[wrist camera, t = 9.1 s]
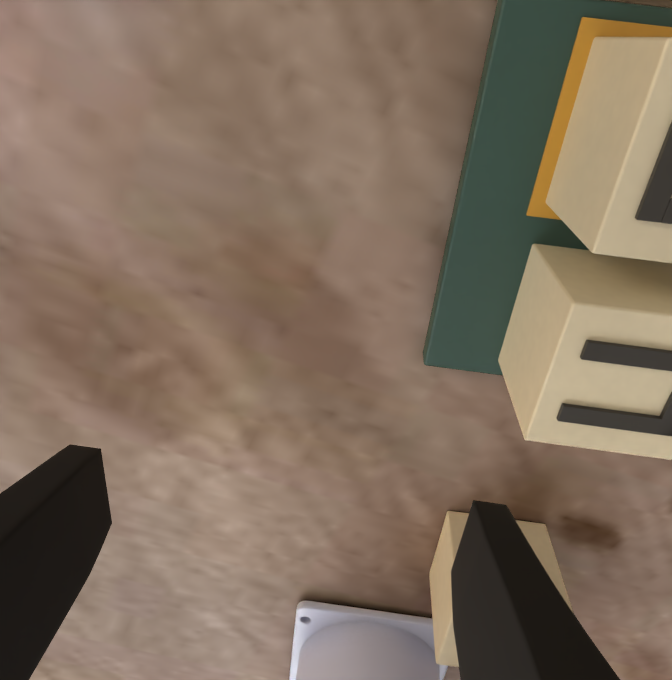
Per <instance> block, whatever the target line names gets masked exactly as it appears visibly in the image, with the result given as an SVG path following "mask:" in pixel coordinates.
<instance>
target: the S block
mask: <svg viewBox="0 0 672 680" xmlns="http://www.w3.org/2000/svg"><path fill="white" fill-rule="evenodd" d="M546 204H547V205H548V206H549V207H550V208H551V209H552V210H553V211H554V212H555V213H556V215H557V216H558V217H559V218H560V219H561V220H562V221H563V222H564V223H565V224H566V225H567V226H568V227H569V229H570V230H571V231H572V232H573V233H574V234H575V235H576V236H577V237H578V238H579V239H580V240H581V241H582V243H583V244H584V245H585V246H586V247H587V248H588V249H589V250H590V251H591V252H592V253H594V254H601V255H609V256H617V257H625V258H633V259H641V260H649V261H657V262H665V263H672V37H595V38H594V40H593V42H592V46H591V49H590V53H589V56H588V59H587V63H586V66H585V69H584V73H583V76H582V80H581V83H580V86H579V90H578V93H577V96H576V100H575V103H574V107H573V110H572V113H571V117H570V120H569V123H568V127H567V130H566V134H565V137H564V140H563V144H562V147H561V151H560V154H559V157H558V161H557V164H556V167H555V171H554V174H553V178H552V181H551V184H550V188H549V191H548V194H547V198H546Z"/></svg>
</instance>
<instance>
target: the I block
mask: <svg viewBox="0 0 672 680" xmlns="http://www.w3.org/2000/svg"><path fill="white" fill-rule="evenodd" d="M468 516H469V513H462V512H455V511H447V514H446V517H445V521H444V524H443V528H442V531H441V535H440V538H439V542H438V545H437V549H436V552H435V556H434V559H433V563H432V566H431V570H430V573H429V578H430V591H431V605H432V619H433V633H434V646H435V660H436V664H439V665H446V666H452V667H459V663H458V656H457V650H456V643H455V636H454V629H453V613H452V589H451V569H452V566H453V563H454V560H455V557H456V553H457V550H458V547H459V544H460V541H461V538H462V535H463V531H464V528H465V525H466V522H467V519H468ZM516 522H517V524H518V525H519V527H520V529H521V531H522V532H523V534H524V536H525V537H526V539H527V541H528V542H529V544H530V546H531V547H532V549H533V551H534V552H535V554H536V556H537V557H538V559H539V561H540V562H541V564H542V565H543V567H544V569H545V570H546V572H547V574H548V575H549V577H550V578H551V580H552V581H553V583H554V585H555V586H556V588H557V589H558V591H559V592H560V594H561V595H562V597H563V598H564V600H565V601H566V603H567V604H568V606H569V608H570V609H571V611H572V612H573V609H572V606H571V603H570V600H569V597H568V594H567V591H566V587H565V584H564V581H563V578H562V575H561V572H560V569H559V565H558V562H557V559H556V556H555V553H554V550H553V547H552V543H551V540H550V537H549V534H548V531H547V528H546V525H545V524H541V523H534V522H527V521H520V520H516ZM573 614H574V613H573Z"/></svg>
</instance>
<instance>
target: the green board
mask: <svg viewBox="0 0 672 680" xmlns="http://www.w3.org/2000/svg"><path fill="white" fill-rule="evenodd" d="M595 37H672V8H666V7H657V6H648V5H640V4H631V3H622V2H613V1H605V0H498V2H497V7H496V11H495V16H494V21H493V26H492V30H491V35H490V40H489V44H488V49H487V54H486V59H485V63H484V68H483V73H482V77H481V82H480V87H479V91H478V96H477V101H476V106H475V110H474V115H473V120H472V124H471V129H470V134H469V139H468V143H467V148H466V153H465V157H464V162H463V167H462V171H461V176H460V181H459V186H458V190H457V195H456V200H455V204H454V209H453V214H452V219H451V223H450V228H449V233H448V237H447V242H446V247H445V251H444V256H443V261H442V266H441V270H440V275H439V280H438V284H437V289H436V294H435V299H434V303H433V308H432V313H431V317H430V322H429V327H428V332H427V336H426V341H425V346H424V350H423V359H424V364H425V365H428V366H436V367H443V368H451V369H458V370H466V371H474V372H481V373H489V374H496V375H503V374H502V371H501V368H500V365H499V362H498V358H499V355H500V352H501V348H502V345H503V342H504V338H505V335H506V331H507V328H508V325H509V321H510V318H511V314H512V311H513V308H514V304H515V301H516V298H517V294H518V291H519V287H520V284H521V281H522V277H523V274H524V271H525V267H526V264H527V260H528V257H529V254H530V250H531V247H532V245H533V244H542V245H550V246H558V247H566V248H574V249H582V250H589V249H588V248H587V247H586V246H585V245H584V244H583V243H582V241H581V240H580V239H579V238H578V237H577V236H576V235H575V234H574V233H573V232H572V231H571V230H570V229H569V227H568V226H567V225H566V224H565V223H564V222H563V221H562V220H561V219H560V218H559V217H558V216H557V215H556V213H555V212H554V211H553V210H552V209H551V208H550V207H549V206H548V205H547V204H546V198H547V194H548V191H549V188H550V184H551V181H552V178H553V174H554V171H555V167H556V164H557V161H558V157H559V154H560V151H561V147H562V144H563V140H564V137H565V134H566V130H567V127H568V123H569V120H570V117H571V113H572V110H573V107H574V103H575V100H576V96H577V93H578V90H579V86H580V83H581V80H582V76H583V73H584V69H585V66H586V63H587V59H588V56H589V53H590V49H591V46H592V42H593V40H594V38H595Z"/></svg>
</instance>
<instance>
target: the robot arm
mask: <svg viewBox="0 0 672 680" xmlns="http://www.w3.org/2000/svg"><path fill="white" fill-rule="evenodd" d="M111 524H112V521H111V514H110V507H109V501H108V494H107V487H106V481H105V474H104V467H103V461H102V454H101V449H98V448H91V447H84V446H77V445H69V446H67V447H66V448H64V449H63V450H61V451H60V452H58V453H57V454H56V455H54V456H53V457H51V458H50V459H48V460H47V461H46V462H44V463H43V464H41V465H40V466H39V467H37V468H36V469H34V470H33V471H32V472H30V473H29V474H27V475H26V476H25V477H23V478H22V479H20V480H19V481H18V482H16V483H15V484H13V485H12V486H11V487H9V488H8V489H6V490H5V491H3V492H2V493H1V494H0V680H29V679H30V677H31V675H32V673H33V672H34V670H35V668H36V667H37V665H38V663H39V661H40V660H41V658H42V656H43V655H44V653H45V651H46V649H47V648H48V646H49V644H50V642H51V641H52V639H53V637H54V636H55V634H56V632H57V630H58V629H59V627H60V625H61V624H62V622H63V620H64V618H65V617H66V615H67V613H68V612H69V610H70V608H71V606H72V605H73V603H74V601H75V599H76V598H77V596H78V594H79V592H80V591H81V589H82V587H83V585H84V584H85V582H86V580H87V578H88V576H89V575H90V573H91V570H92V568H93V566H94V564H95V561H96V559H97V557H98V555H99V553H100V550H101V548H102V546H103V543H104V541H105V538H106V536H107V533H108V531H109V529H110V526H111ZM451 589H452V613H453V629H454V636H455V643H456V650H457V656H458V663H459V670H460V677H461V680H620V679H619V677H618V676H617V675H616V673H615V672H614V671H613V669H612V668H611V666H610V665H609V664H608V662H607V661H606V660H605V658H604V657H603V655H602V654H601V653H600V651H599V650H598V648H597V647H596V646H595V644H594V643H593V641H592V640H591V639H590V637H589V636H588V634H587V633H586V631H585V630H584V628H583V627H582V626H581V624H580V623H579V621H578V620H577V618H576V617H575V615H574V614H573V612H572V611H571V609H570V608H569V606H568V604H567V603H566V601H565V600H564V598H563V597H562V595H561V594H560V592H559V591H558V589H557V588H556V586H555V585H554V583H553V581H552V580H551V578H550V577H549V575H548V574H547V572H546V570H545V569H544V567H543V565H542V564H541V562H540V561H539V559H538V557H537V556H536V554H535V552H534V551H533V549H532V547H531V546H530V544H529V542H528V541H527V539H526V537H525V536H524V534H523V532H522V531H521V529H520V527H519V525H518V524H517V522H516V520H515V519H514V517H513V515H512V513H511V512H510V510H509V509H508V507H507V506H506V505H503V504H495V503H488V502H481V501H474V500H473V503H472V506H471V509H470V512H469V516H468V519H467V522H466V525H465V528H464V531H463V535H462V538H461V541H460V544H459V547H458V550H457V553H456V557H455V560H454V563H453V566H452V569H451ZM447 668H448V666H446V665H439V664H436V660H435V646H434V633H433V619H432V618H426V617H419V616H412V615H405V614H398V613H391V612H384V611H377V610H370V609H363V608H356V607H349V606H342V605H335V604H328V603H322V602H315V601H305V600H304V601H301V602H299V603H298V605H297V610H296V619H295V628H294V638H293V647H292V657H291V666H290V676H289V680H443V679H444V676H445V674H446V671H447Z"/></svg>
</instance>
